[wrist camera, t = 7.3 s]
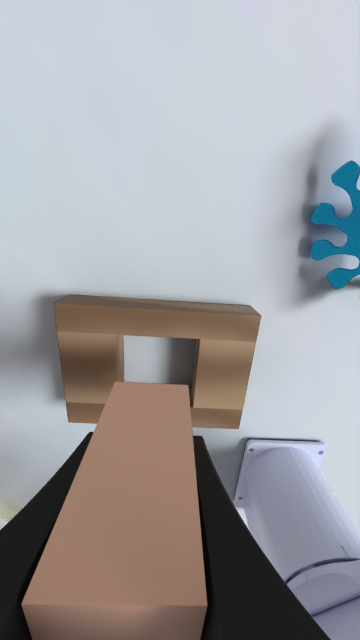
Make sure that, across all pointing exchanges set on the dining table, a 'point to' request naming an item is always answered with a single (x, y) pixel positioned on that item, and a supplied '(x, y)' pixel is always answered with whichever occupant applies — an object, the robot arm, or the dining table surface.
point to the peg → (127, 529)
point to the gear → (341, 225)
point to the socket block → (158, 321)
